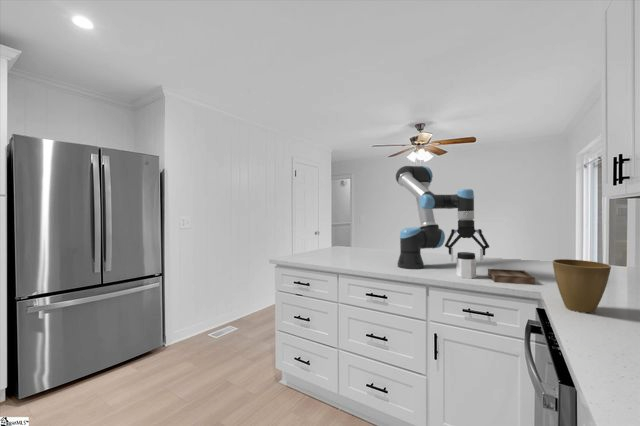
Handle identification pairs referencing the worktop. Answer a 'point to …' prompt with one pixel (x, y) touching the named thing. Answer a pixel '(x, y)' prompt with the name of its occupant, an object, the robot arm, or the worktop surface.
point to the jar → (466, 265)
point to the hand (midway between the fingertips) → (466, 261)
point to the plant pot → (581, 283)
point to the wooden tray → (511, 276)
